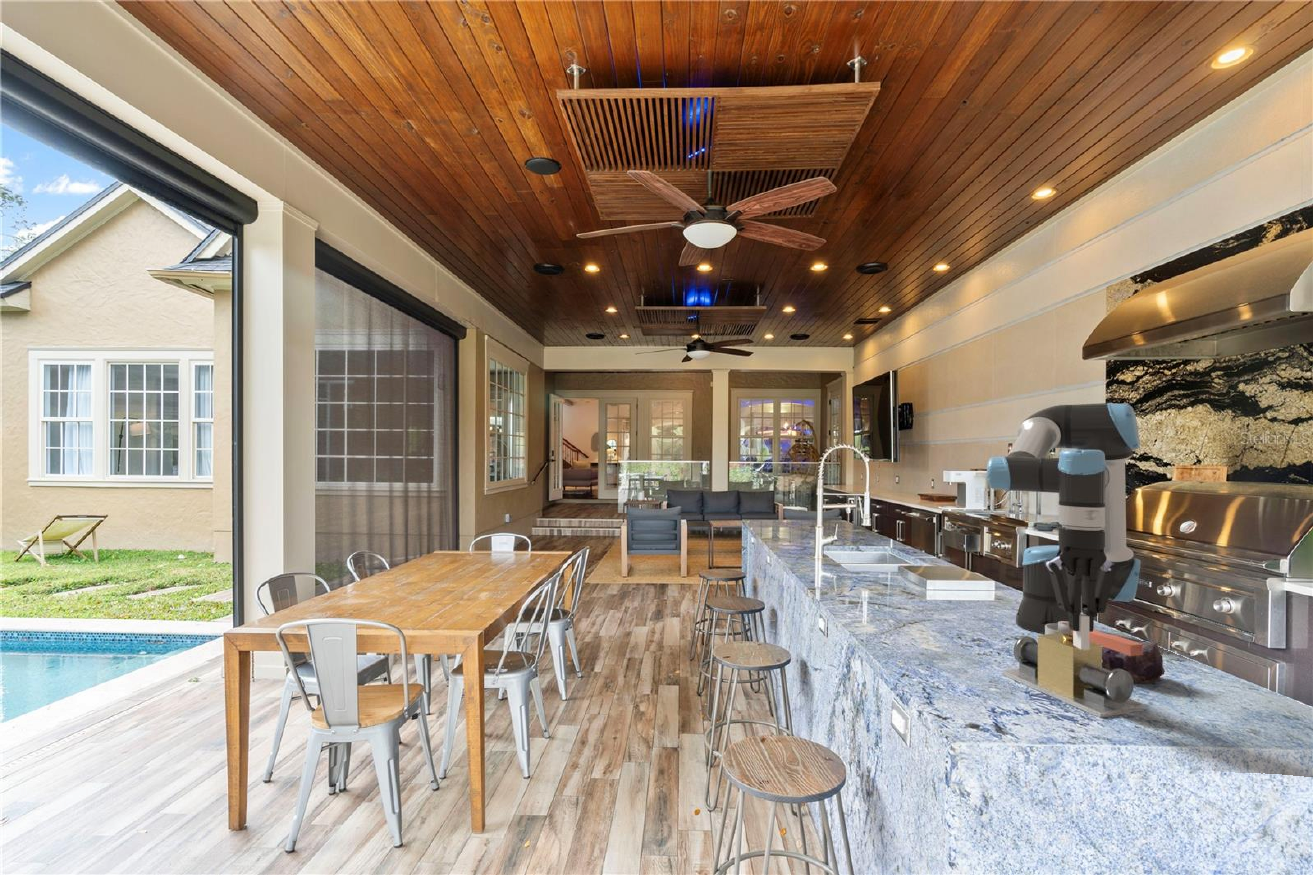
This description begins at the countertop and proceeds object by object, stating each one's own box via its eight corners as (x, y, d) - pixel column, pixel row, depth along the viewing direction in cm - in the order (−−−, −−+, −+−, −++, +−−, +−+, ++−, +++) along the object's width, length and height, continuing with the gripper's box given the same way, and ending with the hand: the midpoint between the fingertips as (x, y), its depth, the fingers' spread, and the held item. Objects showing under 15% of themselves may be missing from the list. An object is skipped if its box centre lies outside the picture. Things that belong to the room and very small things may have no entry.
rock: (1099, 675, 140) (1121, 691, 130) (1092, 638, 141) (1113, 651, 131) (1157, 672, 137) (1184, 688, 128) (1150, 634, 138) (1176, 647, 128)
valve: (1043, 669, 140) (1043, 617, 140) (1144, 709, 119) (1144, 648, 119) (1003, 675, 136) (1003, 621, 137) (1100, 717, 115) (1100, 654, 116)
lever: (1053, 630, 129) (1053, 621, 129) (1068, 629, 130) (1068, 619, 130) (1128, 656, 114) (1128, 645, 114) (1144, 654, 115) (1144, 644, 115)
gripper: (1056, 529, 115) (1055, 652, 115) (1129, 531, 114) (1129, 655, 114) (1036, 524, 123) (1036, 639, 123) (1105, 525, 121) (1105, 642, 121)
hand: (1081, 647), depth 118 cm, fingers closed
